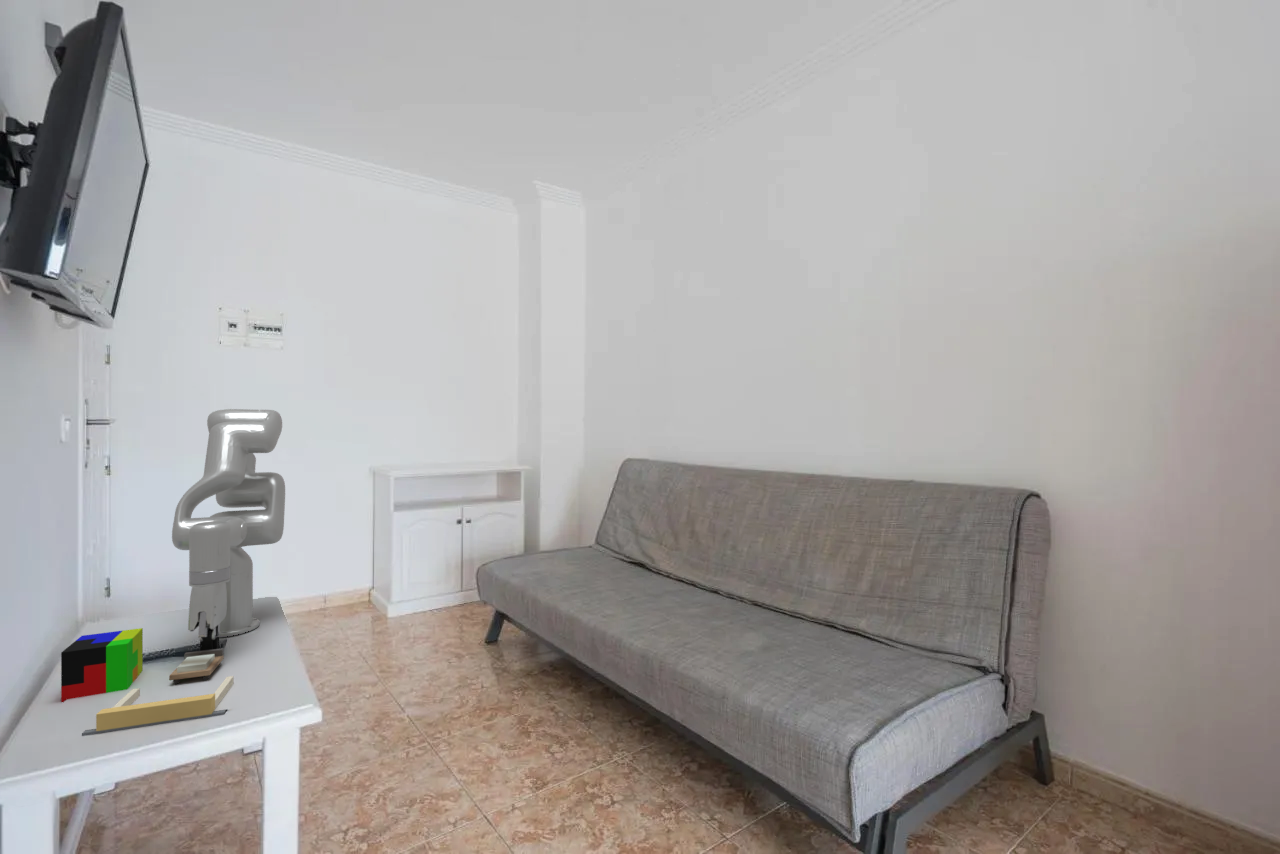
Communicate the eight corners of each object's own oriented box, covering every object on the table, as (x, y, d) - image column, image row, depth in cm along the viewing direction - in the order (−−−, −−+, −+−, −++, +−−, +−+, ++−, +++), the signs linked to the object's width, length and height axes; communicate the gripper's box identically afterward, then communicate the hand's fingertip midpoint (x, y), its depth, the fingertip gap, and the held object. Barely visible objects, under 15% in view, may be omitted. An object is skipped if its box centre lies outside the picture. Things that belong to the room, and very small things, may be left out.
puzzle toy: (81, 682, 121) (81, 635, 121) (142, 673, 126) (142, 628, 126) (61, 703, 112) (61, 652, 112) (127, 692, 117) (127, 643, 117)
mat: (147, 674, 125) (147, 659, 125) (260, 660, 132) (260, 646, 132) (81, 735, 100) (81, 716, 100) (224, 714, 108) (224, 696, 108)
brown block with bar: (186, 668, 127) (186, 652, 127) (223, 664, 129) (223, 648, 129) (169, 686, 118) (169, 668, 118) (209, 680, 121) (209, 663, 121)
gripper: (201, 570, 136) (201, 646, 136) (176, 586, 122) (176, 671, 122) (239, 567, 139) (238, 642, 139) (218, 582, 125) (218, 666, 125)
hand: (209, 656), depth 131 cm, fingers closed
